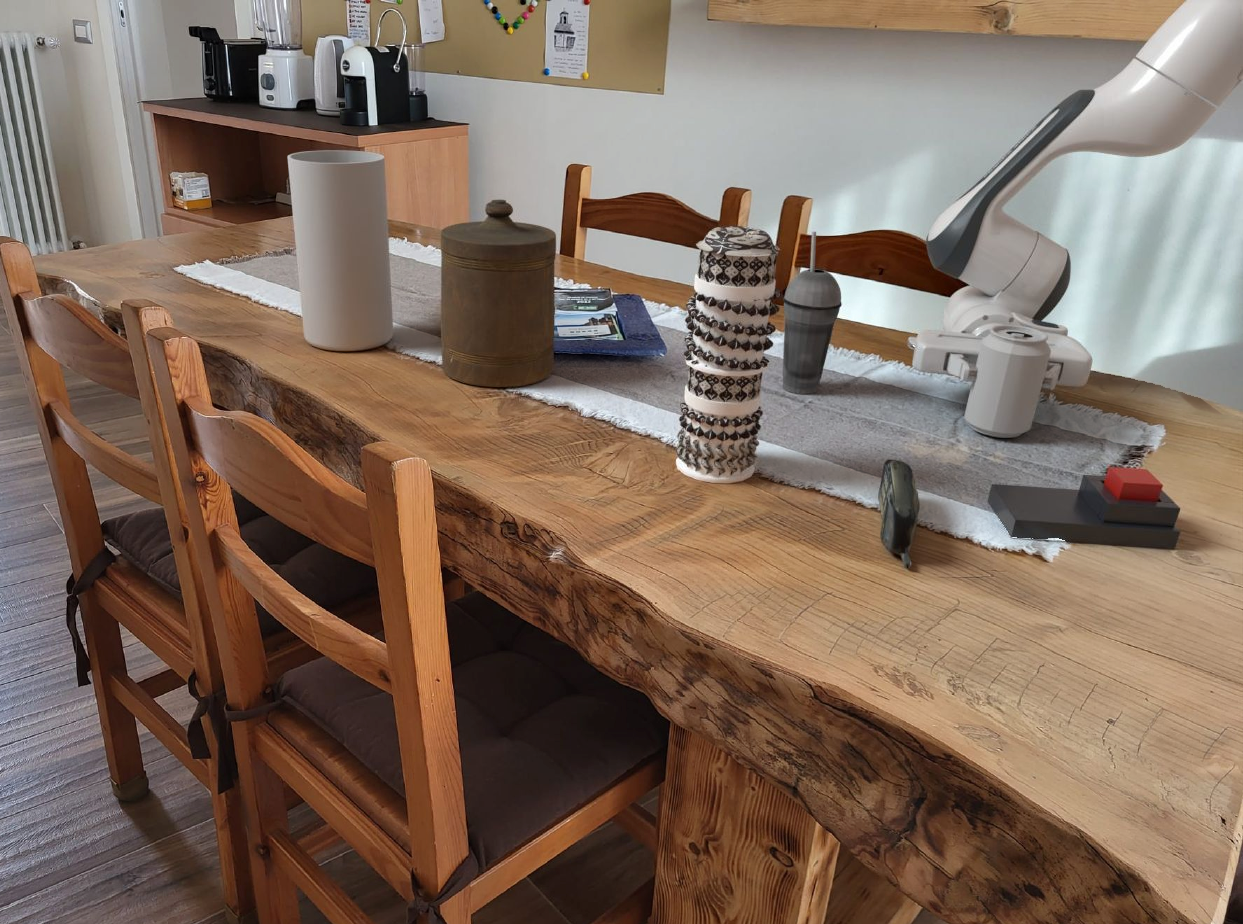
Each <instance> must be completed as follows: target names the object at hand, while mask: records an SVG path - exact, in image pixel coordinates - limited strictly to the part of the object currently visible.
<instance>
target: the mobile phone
mask: <svg viewBox="0 0 1243 924" xmlns="http://www.w3.org/2000/svg"><path fill="white" fill-rule="evenodd" d="M883 463H884V464H883V467H882V472H881V478H880V483H879V487H878V494H877V498H878V503H879V509H880V517H881V528H880V535H879V536H880V540H881V543H882V545H883V546H884V547H885V549H886V550H887V552H888V553H891V554H896V555H897V556H899V557H900V558H901V560H902V563H903V567H904V569H907V570H908V569H911V568H912V561H911V557H910V551H911V550H912V549H913V544H914V541H915V536H916V531H917V526H918V517H919V512H920V508H921V503H920V497H919V491H918V490H917V487H916V481H915V476H914V471H913V469H912V467H911V466H910V465H909V464H908V463H906V462H904V461H902V460H898V459H890V458H889V459H886V460H885V461H884V462H883Z"/></svg>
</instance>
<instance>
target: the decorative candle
mask: <svg viewBox="0 0 1243 924" xmlns="http://www.w3.org/2000/svg"><path fill="white" fill-rule="evenodd" d="M695 246H696V247H697V248H698V249H699V255H698V260H697V265H698V266H697V268H698V270H697V273H695V274H694V281H693V282H694V284H693V289H694V291H695V293H694V294H693V295H691V296H690V297H689V299H688V301H687V302H686V304H685V308H687V314H688V315H687V316H685V318H684V322H685V323H686V324H685V325H686V329H687V330H689V331H687V335H686V336H685V337H684V342H685V344H686V345H685V346H686V347H685V348H686V349H685V350H684V352H683V356H684V360H685V363H686V365H687V366H689V368H688V371H687V383H686V385H685V386H684V396H683V399H684V400H683V401H681V403H680V404H679V407H680V411H681V413H682V415H680V416H679V418H678V421H679V425H680V427H681V429H679V430H678V432H677V435H676V438H677V441H678V444H677V445H676V448H675V450H676V455H677V458H676V460H675V465H676V468H677V470H678V471H679V472H681V473H682V474H683V475H684V476H686V477H689V478H691V479H694V480H696V481H700V482H706V483H711V484H733V483H739V482H743V481H745V480H747V479H749V478H752V476H753V474H754V473H755V469H756V468H755V465H754V464H755V462H756V461H755V460H757V459H758V455H757V454H756V452H757V447H759V445H760V441H759V440H758V436H757V435H758V434H759V431H761V428H762V425H761V424H760V419H761V417H762V416H763V414H764V411H763V410H762V408H761V401H762V390H761V387H762V379H763V373H764V372H766V370H767V369H768V367H769V364H770V360H769V359H768V358H766V356H765V355H764V352H766V351H768V350H770V349H772V347H773V346H774V342H773V340H771V339H770V338H769V336H770V335H772V334H773V333H774V332H776V326H775V325H774V324H772V323H771V320H770V321H768V320H769V317H771V316H774V315H777V314H778V313H779V312H780V306H778V305H777V304H776V302H774V301H775V300H777V299H779V298H780V297H782V294H783V293H782V291H780V290H778V288H776V284H777V281H776V279H775V278H776V277H775V275H776V268H777V261H778V254H779V252H780V251H781V249H780V248H779V246H777V245H775V244H774V241H773V239H772V238H771V236H770V234H768V233H767V232H766V231H765V230H762V229H759V228H756V227H751V226H742V225H724V226H723V225H722V226H718V227H714V228H712V229H711V230H709V232H708V233H707V234H706V235H705V237H704V239H703V240H700V241H698V242H697V243H695Z"/></svg>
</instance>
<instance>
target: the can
mask: <svg viewBox="0 0 1243 924" xmlns="http://www.w3.org/2000/svg"><path fill="white" fill-rule="evenodd" d="M990 332H991V333H990V334H989V335H987V336H986V337H985V338H983V339H982V341H981V346H980V350H979V355H978V359H977V363H976V367H977V368H978V373H977V375H976V381H975V382H971V386H970V390H969V394H968V399H967V403H966V407H965V411H964V416H963V417H964V419H965V421H966V422H967V423H968V424H969V426H970V428H971V429H972V430H974V431H975V432H977V433H980V434H983V435H987V436H990V437H995V438H1004V439H1009V438H1016V437H1020V436H1021V435H1022V434H1025V433H1026V432H1028V431H1029V430H1031V428H1032V424H1033V421H1034V418H1035V413H1036V411H1037V406H1038V403H1039V399H1040V395H1041V390H1042V389H1041V387H1042V384H1043V380H1044V376H1045V372H1046V368H1047V365H1048V361H1049V357H1050V353H1051V349H1050V347H1049V345H1048V344H1047V342H1046V340H1048V336H1047V335H1046V334H1045V333H1044V332H1042V331H1039V330H1036V329H1033V328H1029V327H1024V326H1017V325H997V326H994V327H992V328H990Z"/></svg>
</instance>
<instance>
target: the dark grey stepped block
mask: <svg viewBox="0 0 1243 924" xmlns="http://www.w3.org/2000/svg"><path fill="white" fill-rule="evenodd" d="M1105 478H1106V475H1095V474H1083V476H1082V478H1081V481H1080V486H1079V488H1078V489H1073V488H1059V487H1057V488H1056V487H1044V486H1028V485H1014V484H1013V485H1012V484H1001V483H999V484H998V483H991V485H990V489H989V494H988V497H987V503H988V505H989V506H990V508H991V509H992V511H993V512H994V514H995V516H996V517H997V516H998V517H997V519H998V520H999V519H1000V520H999V522H1000V521H1001V522H1002V523H1001V522H1000V523H1001V525H1002V524H1003V525H1004V526H1003V525H1002V526H1003V528H1004V527H1005V528H1006V530H1007V531H1008V533H1009V534H1008V533H1007V534H1008V536H1009V535H1010V536H1011V537H1017V538H1031V539H1032V538H1033V539H1048V538H1059V539H1062V540H1065V541H1066V542H1065V543H1073V544H1086V545H1090V544H1091V545H1102V546H1115V547H1127V548H1129V547H1130V548H1144V549H1157V550H1171V551H1172V550H1173V551H1174V550H1175V549H1176V547H1177V544H1178V541H1179V538H1180V534H1181V530H1180V529H1179V528H1178V527H1177V526H1176V523H1177V520H1178V518H1179V514H1180V511H1181V507H1180V506H1179V505H1178V504H1177V503H1176V502H1175V501H1174V500H1173V499H1172V498H1171V497H1170V496H1169V495H1168V494H1167V493H1166V492H1165V491H1163V489H1162V490H1161V493H1160V496H1159V499H1158V502H1151V501H1137V500H1122V499H1116V497H1115V496H1114V495H1113V494H1112V493H1111V492H1110V491H1109V490H1108V489H1107V487H1106V486H1105V485H1104V481H1105ZM1005 528H1004V529H1005ZM1006 530H1005V531H1006ZM1007 531H1006V532H1007ZM1010 536H1009V537H1010ZM1011 537H1010V538H1011Z"/></svg>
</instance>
